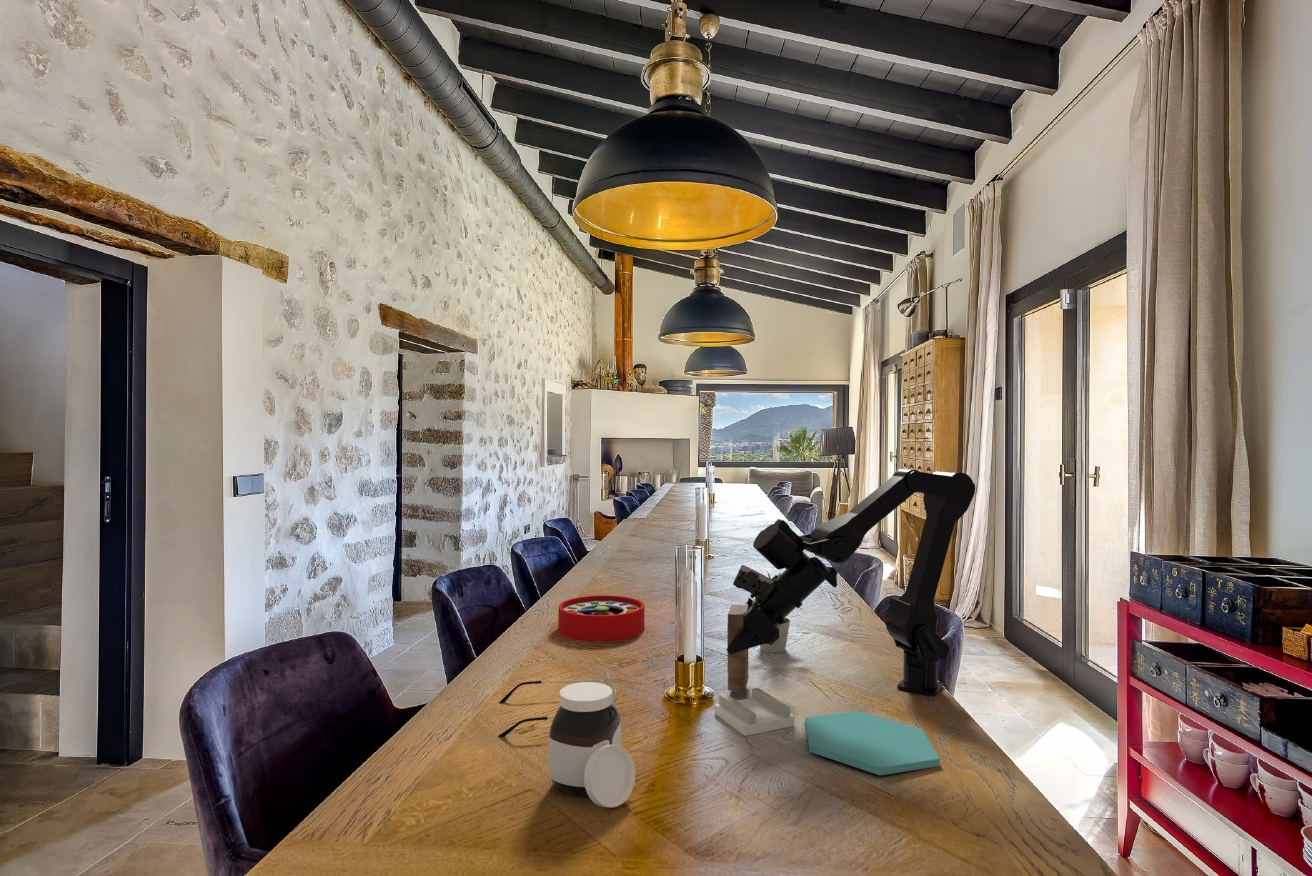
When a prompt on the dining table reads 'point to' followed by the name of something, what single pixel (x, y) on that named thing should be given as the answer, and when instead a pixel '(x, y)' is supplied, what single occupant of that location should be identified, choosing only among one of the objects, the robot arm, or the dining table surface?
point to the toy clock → (601, 618)
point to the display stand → (754, 713)
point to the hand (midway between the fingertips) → (730, 645)
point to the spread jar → (590, 746)
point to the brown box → (738, 660)
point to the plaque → (870, 742)
